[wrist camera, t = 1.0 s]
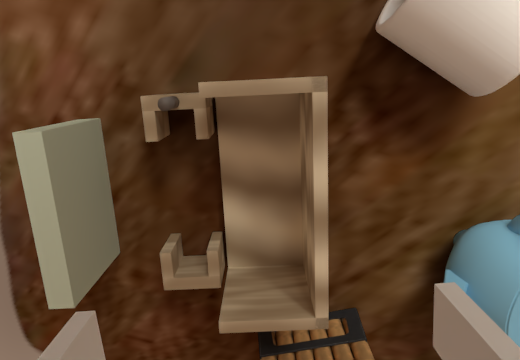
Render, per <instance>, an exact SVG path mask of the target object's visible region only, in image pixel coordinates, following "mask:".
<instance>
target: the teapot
mask: <svg viewBox="0 0 520 360" xmlns="http://www.w3.org/2000/svg"><path fill="white" fill-rule="evenodd" d="M453 243H454V246H453V249H452V251H451V253H450V256H449V258H448V261H447V265H446V269H445V274H444V281H443V283H450V282H455V283H456V284H457V285H458V286H459V287H460V288H461V289H462V290H463V291H464V292H465V293H466V294H467V295H468V296H469V297H470V298H471V299H472V300H473V301H474V302H475V303H476V304H477V305H478V306H479V307H480V308H481V309H482V310H483V311H484V312H485V313H486V314H487V315H488V316H489V317H490V318H491V319H492V320H493V321H494V322H495V323H496V324H497V325H498V326H499V327H500V328H501V329H502V330H503V331H504V332H505V333H506V334H507V335H508V336H509V337H510V338H511V339H512V340H513V341H514V342H515V343H516V344H517V345H518V346H519V347H520V215H518V216H516V217H515V218H513V220H499V221H491V222H485V223H480V224H477V225H475V226H472V227H470V228H468V229H467V230H462V231H459V232H458V233H457V234H456V235H455V237H454V239H453Z"/></svg>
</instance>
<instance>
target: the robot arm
mask: <svg viewBox="0 0 520 360" xmlns="http://www.w3.org/2000/svg"><path fill="white" fill-rule="evenodd" d="M433 347H434V348H435V350H436V351H437V353H438V354H439V356H440V357H441V359H442V360H520V347H519V346H518V345H517V344H516V343H515V342H514V341H513V340H512V339H511V338H510V337H509V336H508V335H507V334H506V333H505V332H504V331H503V330H502V329H501V328H500V327H499V326H498V325H497V324H496V323H495V322H494V321H493V320H492V319H491V318H490V317H489V316H488V315H487V314H486V313H485V312H484V311H483V310H482V309H481V308H480V307H479V306H478V305H477V304H476V303H475V302H474V301H473V300H472V299H471V298H470V297H469V296H468V295H467V294H466V293H465V292H464V291H463V290H462V289H461V288H460V287H459V286H458V285H457V284H456V283H455V282H450V283H437V284H434V320H433ZM37 360H106V359H105V354H104V350H103V345H102V340H101V336H100V331H99V326H98V321H97V317H96V312H95V311H82V312H75V313H74V315H73V316H72V317H71V318H70V320H69V321H68V322H67V323H66V325H65V326H64V327H63V328H62V330H61V331H60V332H59V333H58V334H57V336H56V337H55V338H54V339H53V341H52V342H51V343H50V344H49V346H48V347H47V348H46V349H45V350H44V352H43V353H42V354H41V355H40V357H39V358H38V359H37Z"/></svg>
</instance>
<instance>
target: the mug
mask: <svg viewBox="0 0 520 360" xmlns="http://www.w3.org/2000/svg"><path fill="white" fill-rule="evenodd" d="M376 31H377V32H378V33H379V34H380V35H382V36H383V37H385V38H386V39H388V40H389V41H391V42H392V43H394V44H395V45H397V46H398V47H399V48H401V49H402V50H404V51H405V52H407V53H408V54H410V55H411V56H413V57H414V58H416V59H417V60H419V61H420V62H421V63H423V64H424V65H426V66H427V67H429V68H430V69H432V70H433V71H435V72H436V73H438V74H439V75H441V76H442V77H443V78H445V79H446V80H448V81H449V82H451V83H452V84H454V85H455V86H457V87H458V88H460V89H461V90H463V91H464V92H465V93H467V94H468V95H470V96H483V95H487V94H489V93H492V92H494V91H496V90H498V89H500V88H501V87H503V86H505V85H506V84H507V83H509V82H510V81H512V80H513V79H514V78H515V77H517V76H518V75H519V74H520V0H388V1H387V3H386V4H385V6H384V8H383V10H382V11H381V13H380V15H379V18H378V20H377V23H376Z"/></svg>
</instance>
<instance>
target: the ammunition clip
mask: <svg viewBox="0 0 520 360" xmlns="http://www.w3.org/2000/svg"><path fill="white" fill-rule="evenodd" d="M345 333H346V334H345ZM327 335H328V336H329V337H327ZM258 338H259V352H260V360H354V359H353V358H355V360H375V359H374V357H373V355H372V352H371V350H370V347H369V345H368V342H367V338H366V335H365V332H364V329H363V327H362V324H361V321H360V318H359V315H358V312H357V309H356V308H351V309H345V310H339V311H333V312H329V329H313V330H290V331H266V332H258ZM310 338H311V340H310ZM293 341H294V343H293ZM348 343H350V346H351V348H350V347H349V344H348ZM276 344H277V345H276ZM330 346H331V347H332V351H333V352H331V348H330ZM312 349H313V351H314V356H313V351H312ZM295 353H296V358H295ZM277 355H278V359H277Z"/></svg>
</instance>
